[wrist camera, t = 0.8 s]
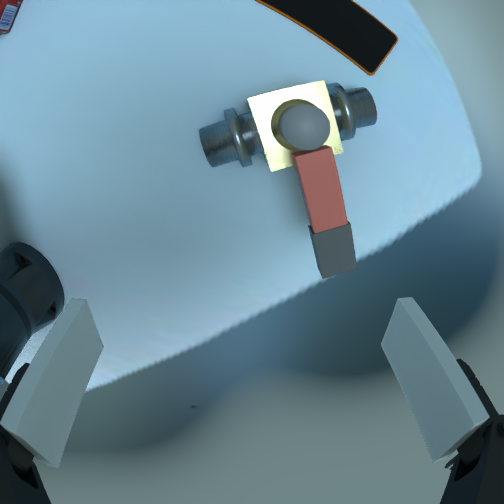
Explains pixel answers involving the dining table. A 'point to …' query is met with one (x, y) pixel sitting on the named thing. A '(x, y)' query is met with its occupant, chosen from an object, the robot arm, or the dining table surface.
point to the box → (8, 14)
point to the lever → (320, 188)
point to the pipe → (266, 124)
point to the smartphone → (341, 28)
